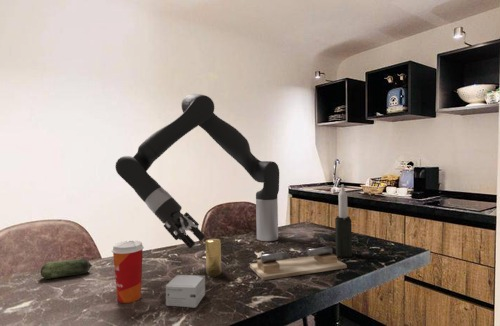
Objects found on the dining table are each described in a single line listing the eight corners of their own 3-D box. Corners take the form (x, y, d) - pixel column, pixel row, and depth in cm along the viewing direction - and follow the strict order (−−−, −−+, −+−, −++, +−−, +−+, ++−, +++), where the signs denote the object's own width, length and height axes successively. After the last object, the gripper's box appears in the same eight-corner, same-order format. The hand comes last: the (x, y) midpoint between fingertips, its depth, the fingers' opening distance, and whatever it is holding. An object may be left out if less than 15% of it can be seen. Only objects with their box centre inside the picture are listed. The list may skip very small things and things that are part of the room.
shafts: (260, 261, 101) (260, 253, 101) (328, 252, 108) (328, 245, 108) (263, 263, 99) (263, 256, 99) (332, 254, 106) (332, 247, 106)
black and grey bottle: (349, 252, 118) (348, 183, 118) (352, 256, 113) (351, 184, 112) (335, 252, 119) (334, 183, 118) (337, 256, 114) (336, 185, 113)
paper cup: (118, 292, 87) (117, 240, 87) (148, 291, 88) (146, 239, 87) (108, 306, 79) (106, 249, 79) (140, 304, 80) (139, 247, 80)
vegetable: (39, 283, 96) (38, 266, 96) (42, 277, 101) (42, 260, 100) (91, 275, 101) (91, 259, 101) (92, 270, 106) (92, 254, 106)
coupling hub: (205, 271, 102) (204, 239, 102) (219, 269, 103) (218, 238, 103) (207, 276, 97) (207, 243, 97) (222, 274, 99) (222, 241, 99)
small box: (165, 306, 79) (164, 285, 79) (177, 293, 86) (177, 273, 86) (196, 308, 77) (195, 287, 77) (206, 294, 85) (205, 275, 85)
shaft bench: (249, 267, 105) (249, 257, 105) (326, 256, 114) (326, 248, 114) (262, 280, 94) (262, 269, 93) (346, 267, 102) (346, 258, 102)
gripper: (159, 200, 96) (197, 240, 94) (180, 194, 110) (213, 229, 108) (144, 217, 97) (181, 257, 95) (166, 209, 111) (198, 244, 109)
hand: (198, 242), depth 101 cm, fingers open, 8 cm apart
